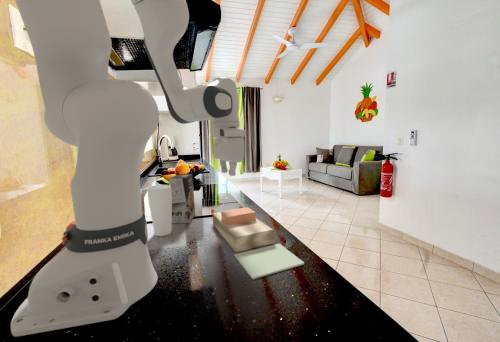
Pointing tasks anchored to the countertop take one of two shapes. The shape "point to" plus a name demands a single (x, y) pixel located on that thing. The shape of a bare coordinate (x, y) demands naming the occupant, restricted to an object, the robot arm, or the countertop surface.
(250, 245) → the beige block
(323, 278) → the countertop surface
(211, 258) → the countertop surface
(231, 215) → the peach brick
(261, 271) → the mat
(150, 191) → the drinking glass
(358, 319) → the countertop surface
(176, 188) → the coffee box
